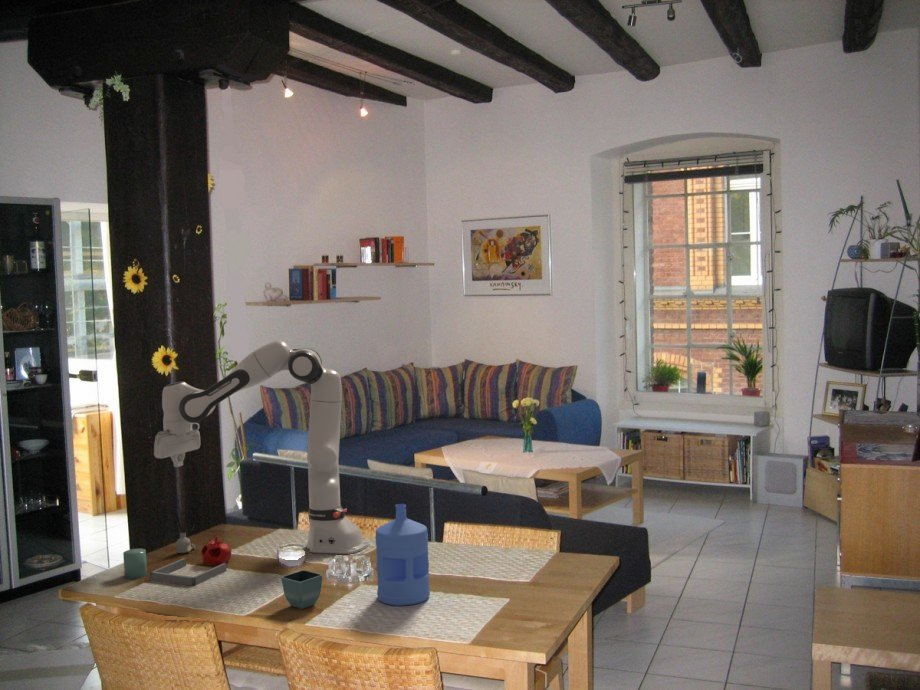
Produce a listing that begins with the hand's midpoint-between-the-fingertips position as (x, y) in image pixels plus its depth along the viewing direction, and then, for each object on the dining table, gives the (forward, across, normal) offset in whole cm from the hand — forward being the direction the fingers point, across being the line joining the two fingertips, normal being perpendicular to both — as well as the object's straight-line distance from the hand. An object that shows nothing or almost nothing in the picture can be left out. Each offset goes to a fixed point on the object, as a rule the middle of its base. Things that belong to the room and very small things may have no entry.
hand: (178, 466), depth 323 cm
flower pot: (+32, -31, -72) cm, 84 cm away
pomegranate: (+31, -6, -20) cm, 38 cm away
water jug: (+32, -15, -97) cm, 103 cm away
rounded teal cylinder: (+31, -26, -3) cm, 41 cm away
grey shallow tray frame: (+31, -19, -20) cm, 42 cm away
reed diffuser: (+31, 0, 0) cm, 31 cm away
